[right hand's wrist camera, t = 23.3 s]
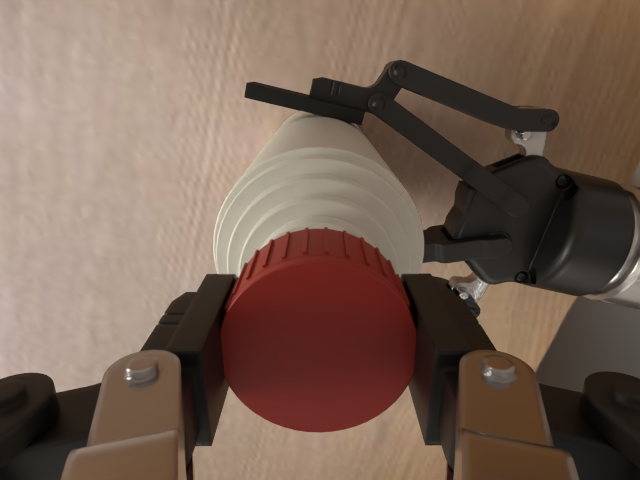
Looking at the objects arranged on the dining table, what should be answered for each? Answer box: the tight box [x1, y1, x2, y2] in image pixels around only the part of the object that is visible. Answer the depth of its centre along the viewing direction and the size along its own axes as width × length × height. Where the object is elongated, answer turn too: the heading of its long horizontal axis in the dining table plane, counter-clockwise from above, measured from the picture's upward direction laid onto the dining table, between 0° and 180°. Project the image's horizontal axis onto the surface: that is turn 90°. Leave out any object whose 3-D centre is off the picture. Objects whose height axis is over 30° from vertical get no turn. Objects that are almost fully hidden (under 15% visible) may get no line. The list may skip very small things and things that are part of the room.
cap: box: [220, 227, 417, 432], centre depth 11 cm, size 4×4×2 cm
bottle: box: [213, 111, 424, 278], centre depth 22 cm, size 7×7×24 cm
